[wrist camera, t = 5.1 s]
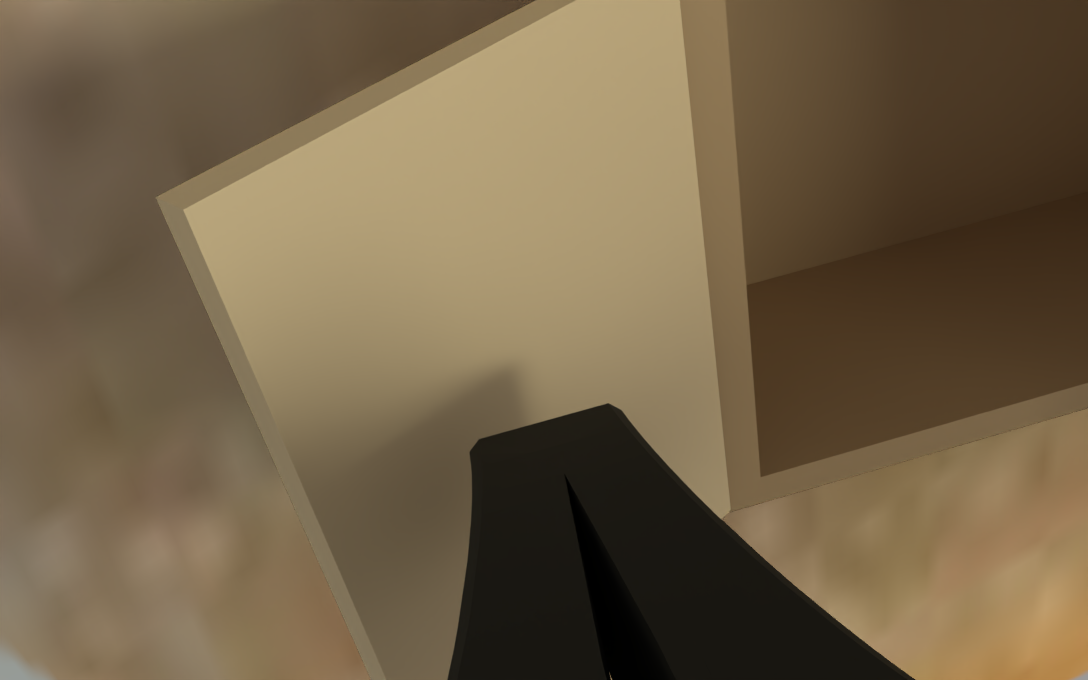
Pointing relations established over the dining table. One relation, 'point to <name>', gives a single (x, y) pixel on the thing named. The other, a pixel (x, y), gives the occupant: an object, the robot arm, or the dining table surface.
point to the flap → (462, 292)
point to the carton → (888, 226)
